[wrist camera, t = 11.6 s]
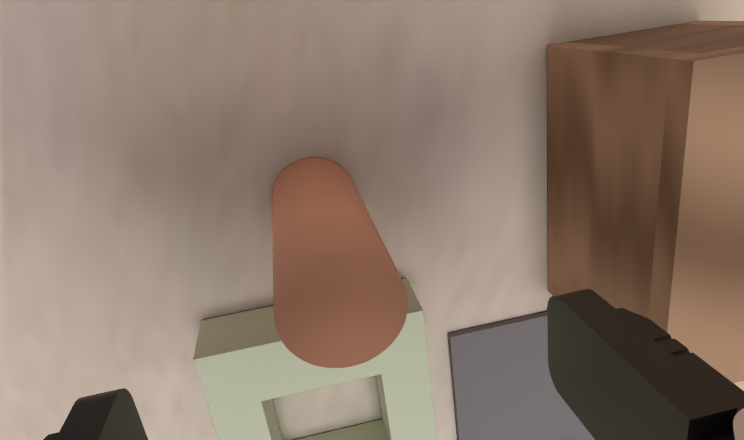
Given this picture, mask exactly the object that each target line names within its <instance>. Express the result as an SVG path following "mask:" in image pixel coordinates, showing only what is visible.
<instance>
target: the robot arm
mask: <svg viewBox="0 0 744 440" xmlns="http://www.w3.org/2000/svg"><path fill="white" fill-rule="evenodd" d="M547 322H548V366H549V372H550V375H551V378H552V381H553V384H554V386H555V388H556V390H557V391H558V393H559V394H560V396H561V397H562V398H563V400H564V401H565V402H566V403H567V405H568V406H569V407H570V409H571V410H572V411H573V412H574V414H575V415H576V416H577V417H578V419H579V420H580V421H581V423H582V424H583V425H584V426H585V428H586V429H587V430H588V431H589V433H590V434H591V435H592V436H593V438H594V439H595V440H744V391H743V390H741V389H740V388H739V387H737V386H736V385H735V384H734V383H732V382H731V381H730V380H728V379H727V378H726V377H724V376H723V375H722V374H721V373H719V372H718V371H717V370H715V369H714V368H713V367H711V366H710V365H709V364H707V363H706V362H705V361H704V360H702V359H701V358H700V357H698V356H697V355H696V354H694V353H690V352H689V350H688V348H687V347H685V346H684V345H683V344H681V343H680V342H679V341H678V340H676V339H672V338H671V335H670V334H668V333H667V332H666V331H665V330H663V329H662V328H661V327H659V326H658V325H657V324H655V323H654V322H653V321H652V320H650V319H648V318H646V317H643V316H641V315H639V314H636V313H634V312H631V311H629V310H627V309H624V308H618V309H615V308H614V307H613V306H612V305H610V304H609V303H608V302H607V301H605V300H604V299H603V298H602V297H601V296H599V295H598V294H597V293H596V292H594V291H593V290H591V289H584V290H579V291H575V292H570V293H565V294H561V295H556V296H552V297H551V298H550V299H549V301H548V306H547ZM44 440H148V438H147V436H146V433H145V430H144V428H143V425H142V422H141V420H140V417H139V414H138V411H137V409H136V406H135V403H134V401H133V398H132V396H131V394H130V392H129V391H128V390H127V389H124V388H123V389H118V390H114V391H109V392H105V393H100V394H95V395H91V396H86V397H82V398H79V399H78V400H77V401H76V402H75V404H74V405H73V407H72V409H71V411H70V413H69V415H68V417H67V419H66V421H65V423H64V424H63V426H62V428H61V430H60V432H59V433H54V434H50V435H48V436H47V437H46V438H45V439H44Z"/></svg>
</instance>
